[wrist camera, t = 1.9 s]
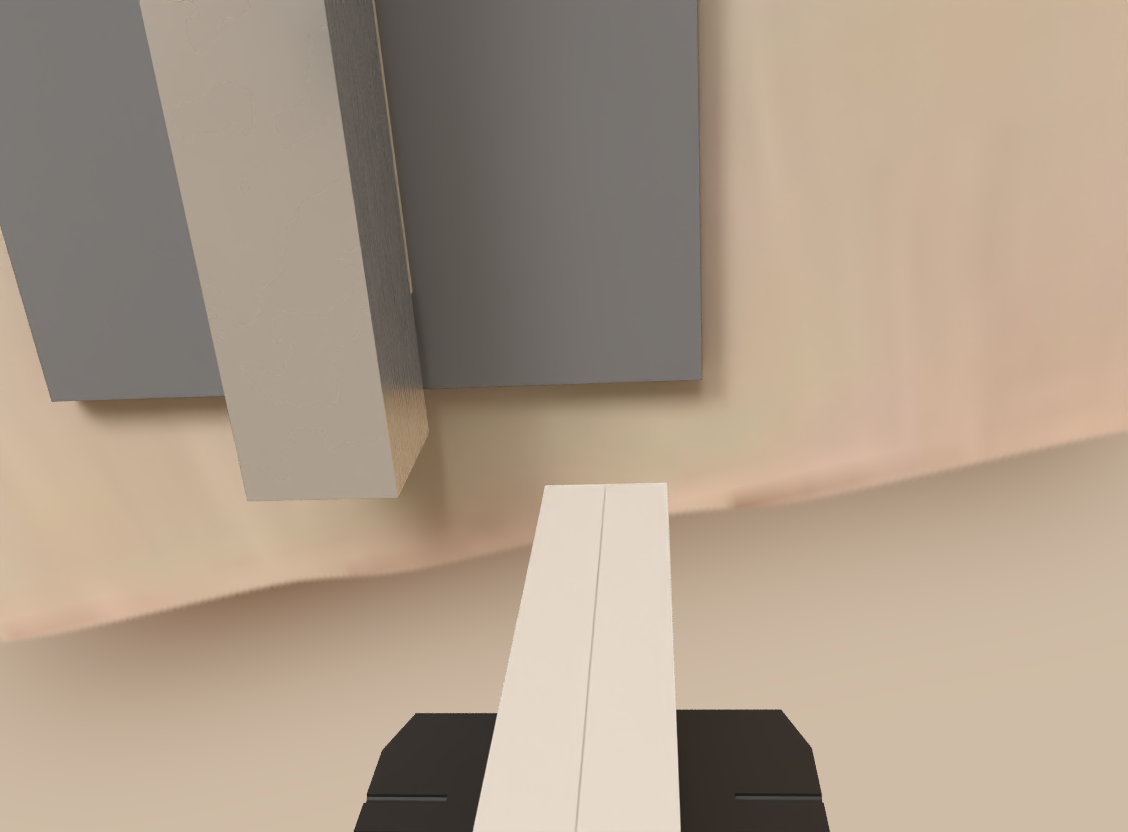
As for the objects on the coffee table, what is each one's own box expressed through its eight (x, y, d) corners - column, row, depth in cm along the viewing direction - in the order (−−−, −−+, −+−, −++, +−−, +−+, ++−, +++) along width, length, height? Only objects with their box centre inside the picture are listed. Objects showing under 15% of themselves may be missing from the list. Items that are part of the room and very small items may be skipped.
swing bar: (138, -447, 22) (-33, -591, 16) (316, -467, 21) (202, -624, 16) (302, 430, 30) (225, 529, 24) (432, 426, 30) (383, 526, 24)
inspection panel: (-150, -384, 24) (-193, -403, 23) (689, -481, 22) (691, -508, 21) (68, 389, 32) (46, 405, 30) (699, 367, 30) (702, 383, 29)
